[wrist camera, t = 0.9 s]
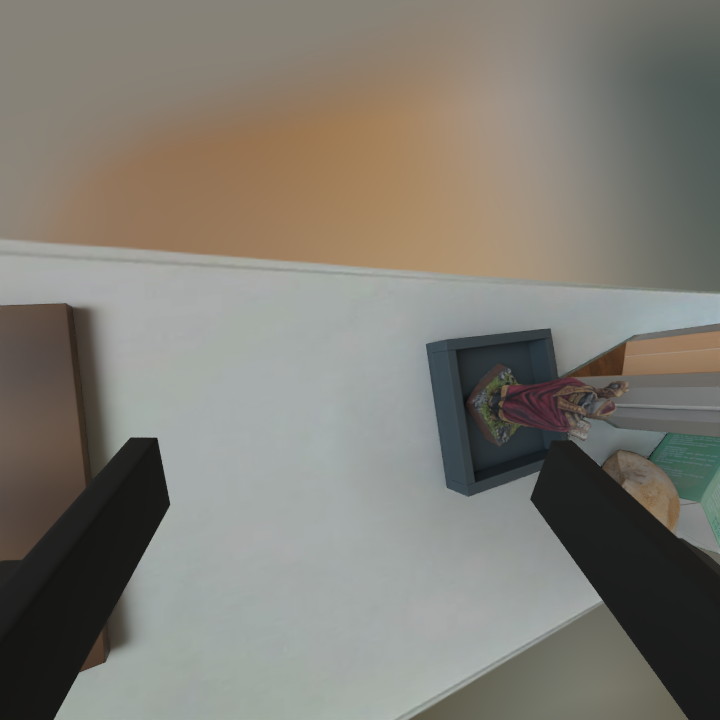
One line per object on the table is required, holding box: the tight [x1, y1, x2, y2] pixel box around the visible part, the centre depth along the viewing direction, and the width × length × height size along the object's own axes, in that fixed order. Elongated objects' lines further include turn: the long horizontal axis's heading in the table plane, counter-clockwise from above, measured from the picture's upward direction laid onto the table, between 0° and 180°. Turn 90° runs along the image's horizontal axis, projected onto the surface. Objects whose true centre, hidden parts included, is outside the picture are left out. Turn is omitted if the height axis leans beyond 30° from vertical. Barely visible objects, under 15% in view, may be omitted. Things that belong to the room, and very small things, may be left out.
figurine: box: [465, 363, 629, 447], centre depth 29 cm, size 6×6×12 cm
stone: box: [602, 450, 680, 536], centre depth 38 cm, size 14×11×8 cm
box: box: [648, 433, 720, 554], centre depth 43 cm, size 7×14×8 cm, turn 120°
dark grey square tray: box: [426, 329, 568, 497], centre depth 34 cm, size 14×14×3 cm
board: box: [0, 303, 110, 672], centre depth 19 cm, size 22×7×1 cm, turn 9°
